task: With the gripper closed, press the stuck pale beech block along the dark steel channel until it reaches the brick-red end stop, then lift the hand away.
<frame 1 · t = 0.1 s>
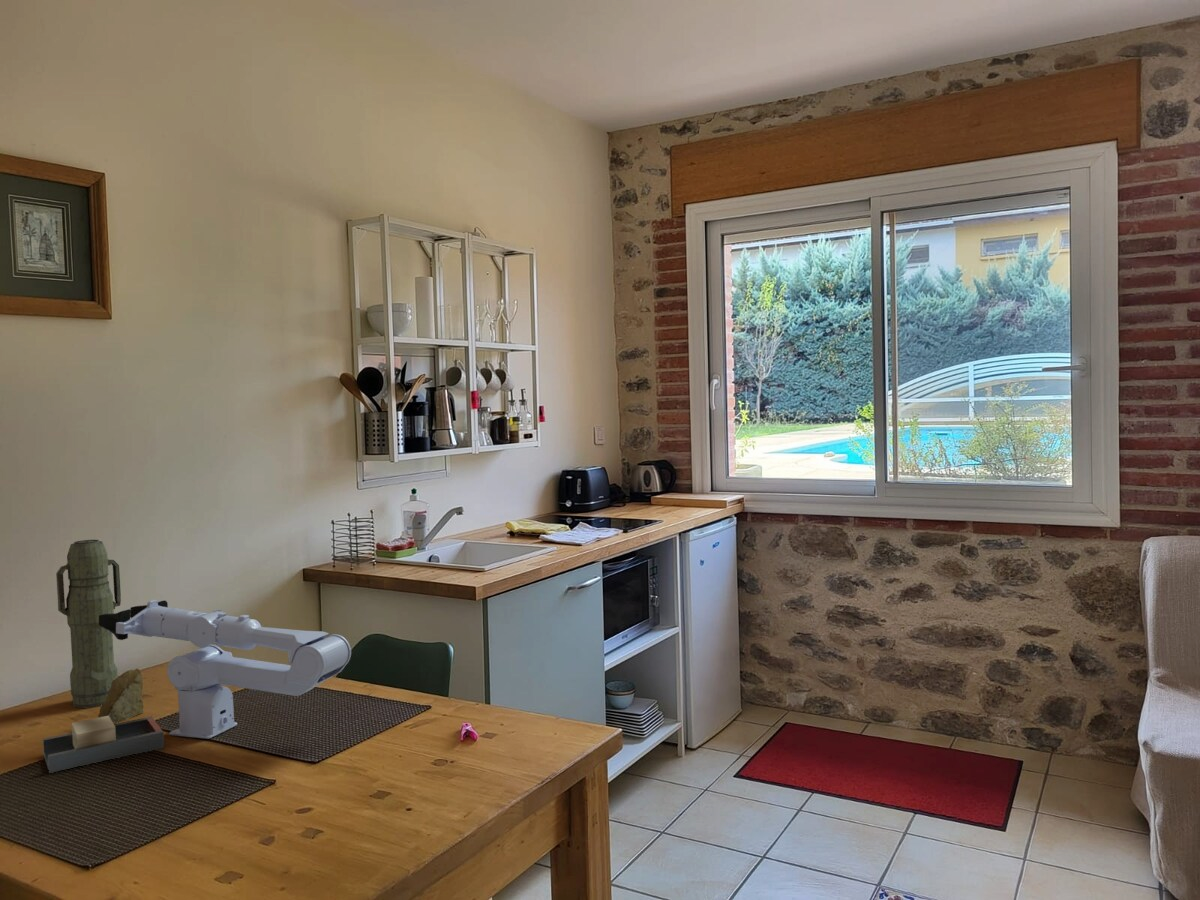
hand: (116, 615, 178), 22 cm above the table, tool horizontal, fingers open, 7 cm apart
chute: (104, 751, 163), on the table
thermos: (95, 702, 194), on the table
block: (93, 735, 162), point 3 cm above the table, slide at 0.0 cm
rock: (119, 720, 182), on the table
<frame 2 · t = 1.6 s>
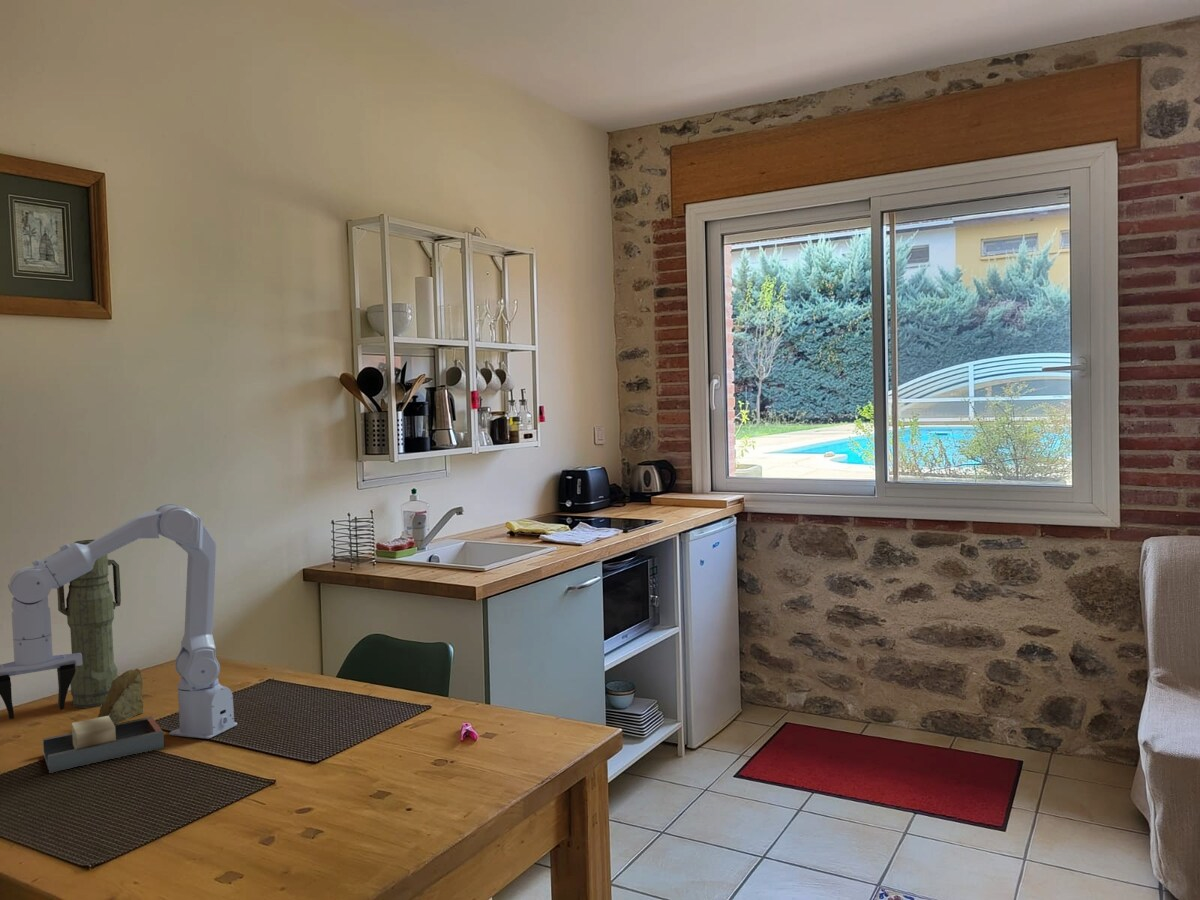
hand: (36, 712, 157), 9 cm above the table, tool pointing down, fingers open, 7 cm apart
nothing on the table moved.
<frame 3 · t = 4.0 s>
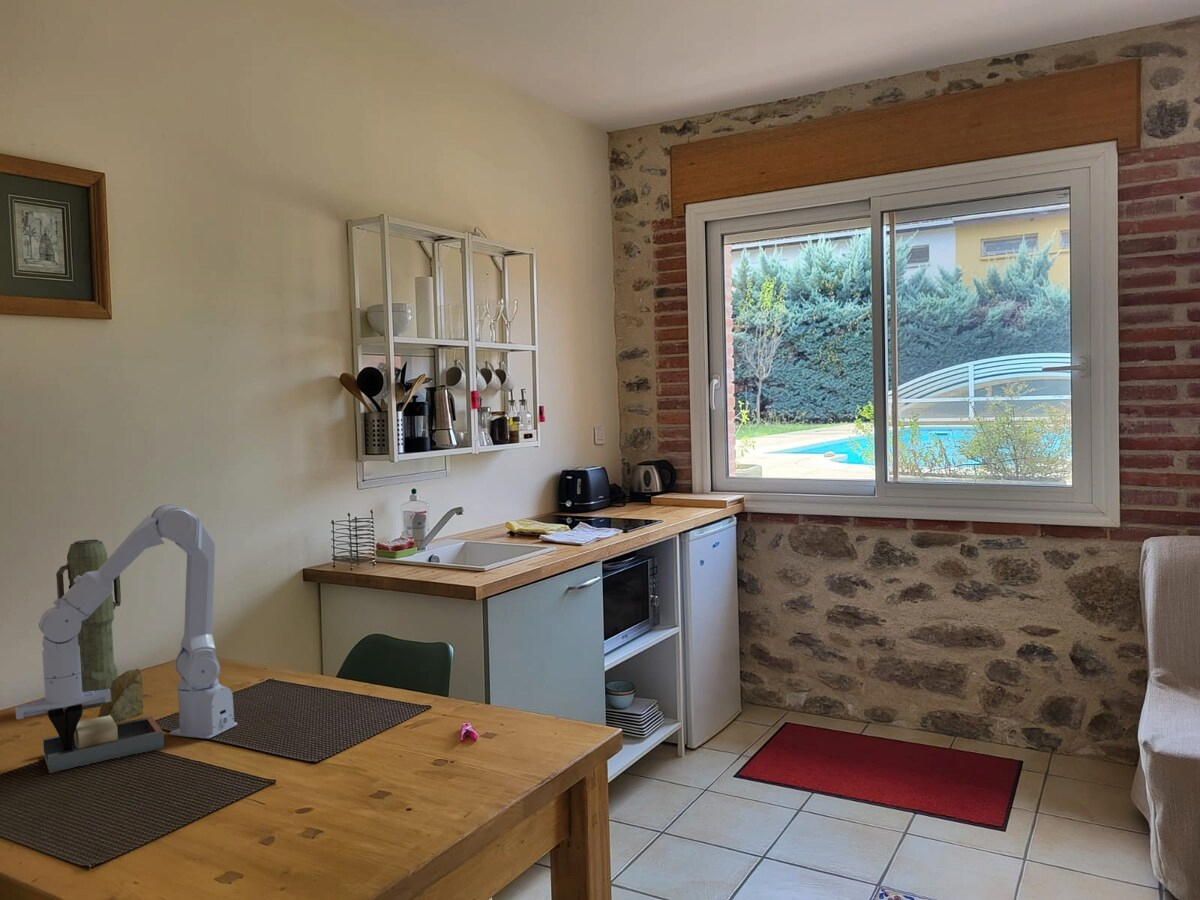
hand: (67, 749, 160), 2 cm above the table, tool pointing down, fingers closed
block: (95, 735, 162), point 3 cm above the table, slide at 0.3 cm, touching gripper
everything else where it was.
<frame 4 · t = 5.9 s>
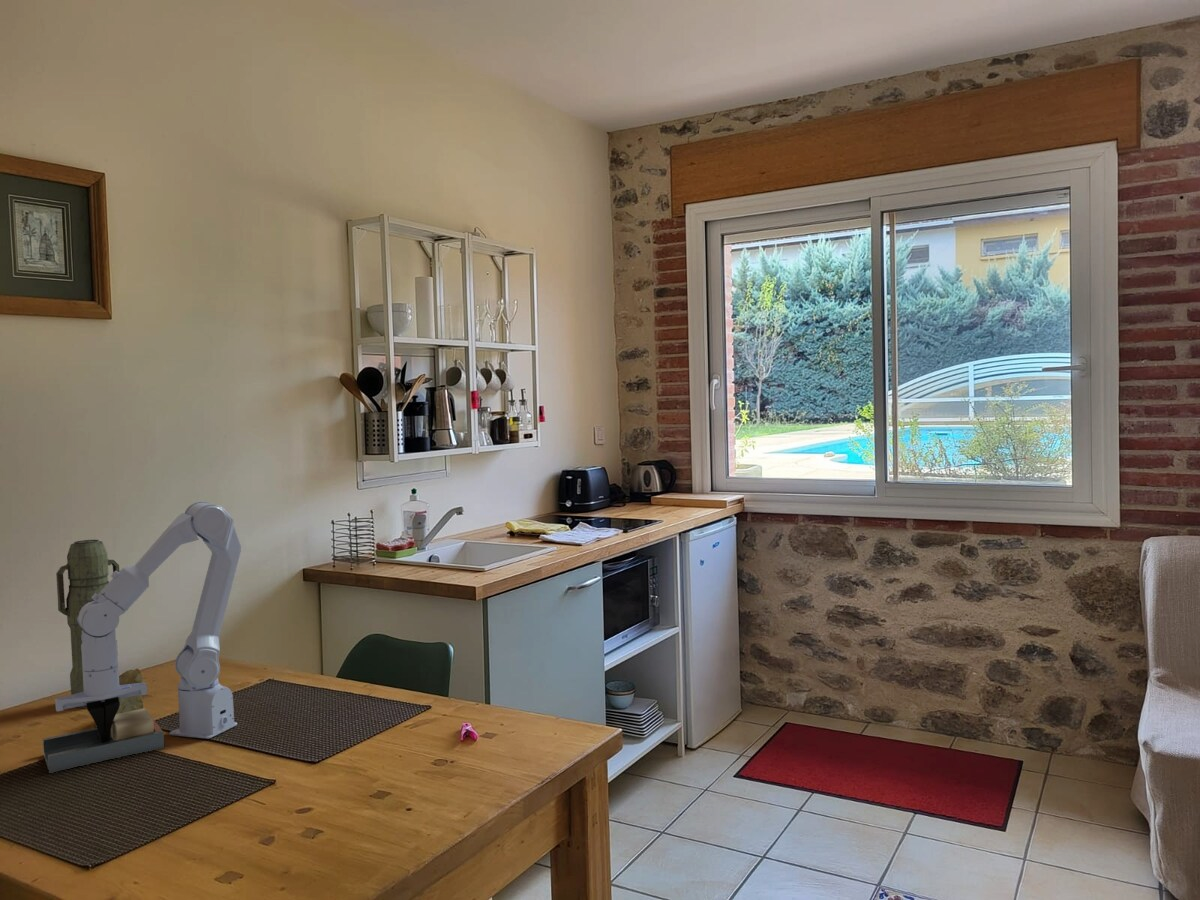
hand: (104, 741, 163), 2 cm above the table, tool pointing down, fingers closed
block: (131, 727, 166), point 3 cm above the table, slide at 6.2 cm, touching gripper
everything else where it was.
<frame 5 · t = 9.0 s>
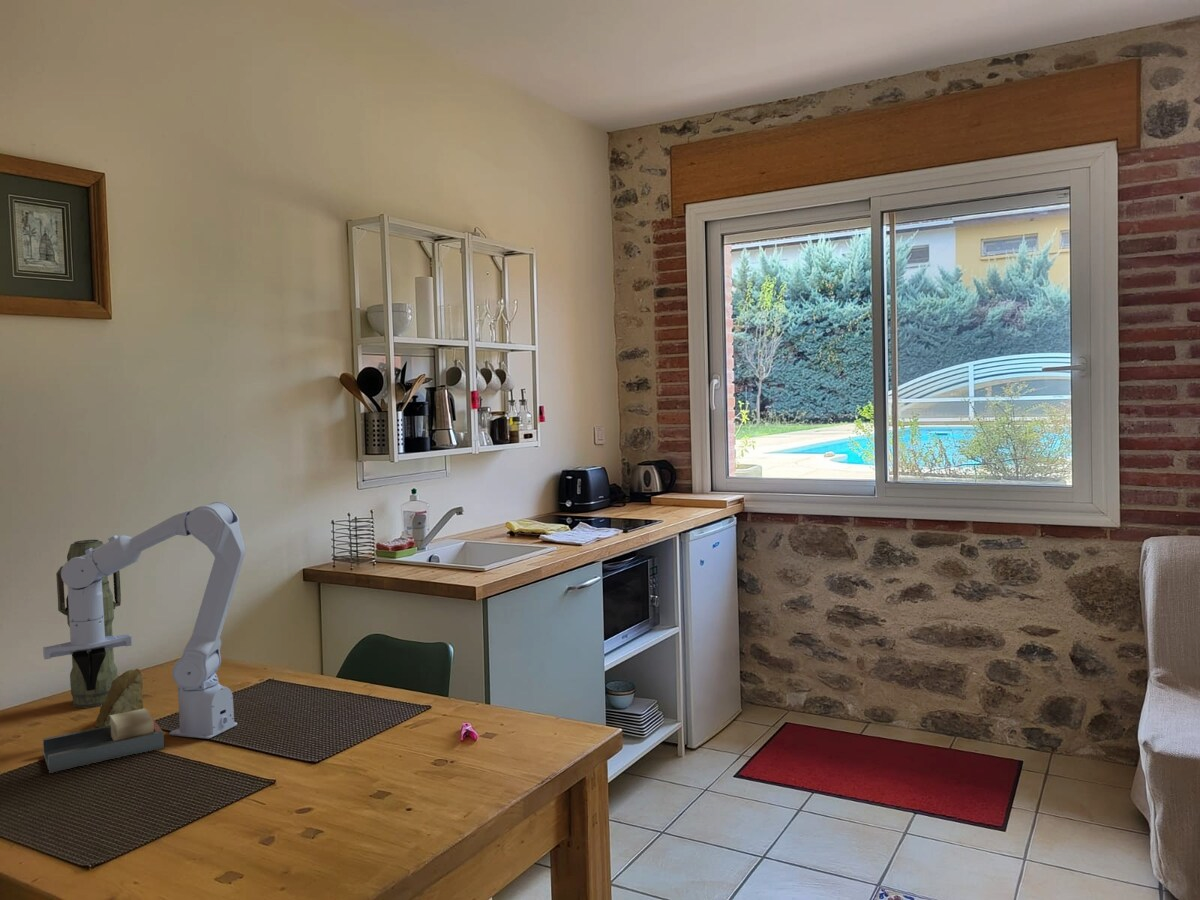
hand: (90, 689, 170), 9 cm above the table, tool pointing down, fingers closed
block: (131, 727, 166), point 3 cm above the table, slide at 6.2 cm
everything else where it was.
at the end: block slide at 6.2 cm; rock moved 0.3 cm from its start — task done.
